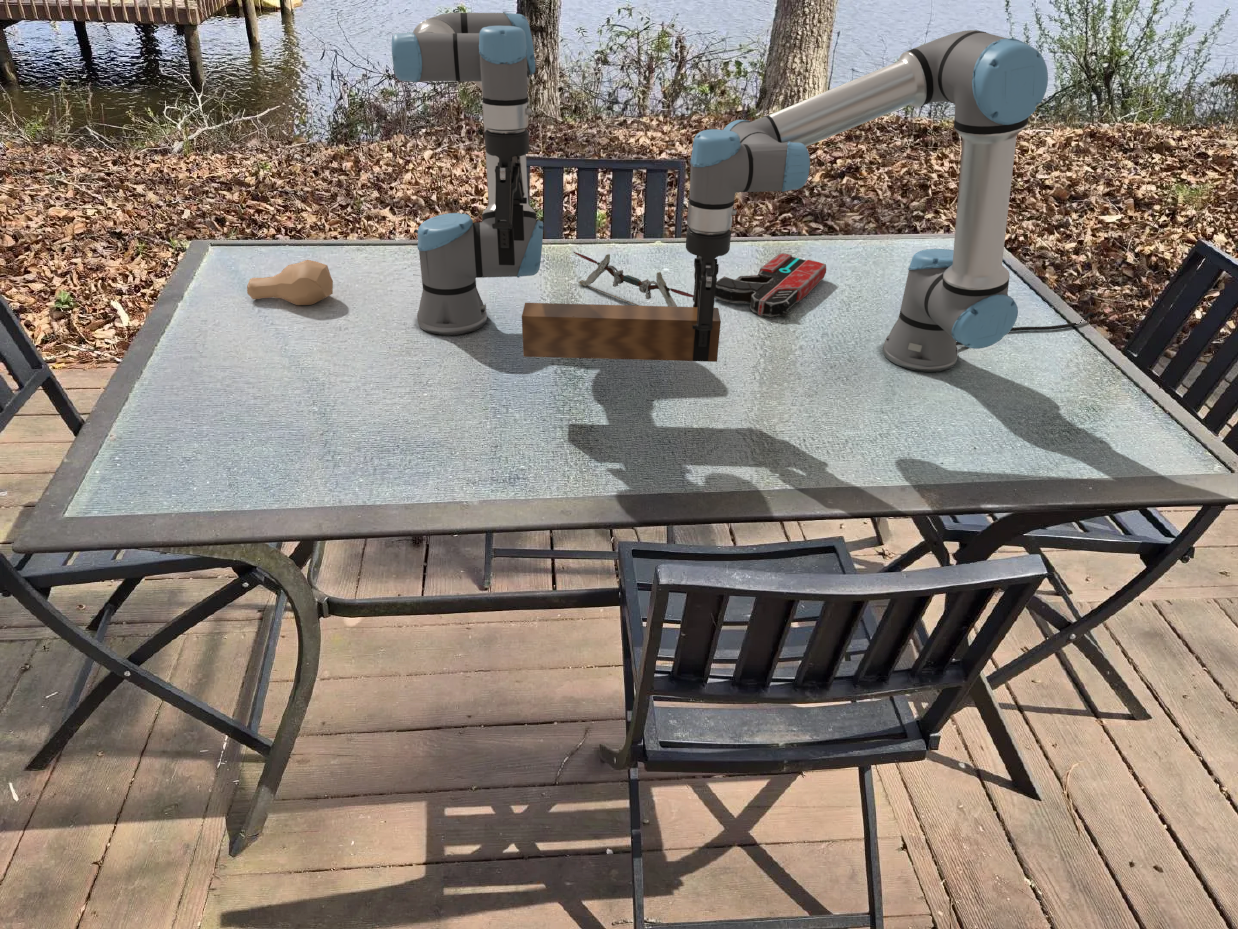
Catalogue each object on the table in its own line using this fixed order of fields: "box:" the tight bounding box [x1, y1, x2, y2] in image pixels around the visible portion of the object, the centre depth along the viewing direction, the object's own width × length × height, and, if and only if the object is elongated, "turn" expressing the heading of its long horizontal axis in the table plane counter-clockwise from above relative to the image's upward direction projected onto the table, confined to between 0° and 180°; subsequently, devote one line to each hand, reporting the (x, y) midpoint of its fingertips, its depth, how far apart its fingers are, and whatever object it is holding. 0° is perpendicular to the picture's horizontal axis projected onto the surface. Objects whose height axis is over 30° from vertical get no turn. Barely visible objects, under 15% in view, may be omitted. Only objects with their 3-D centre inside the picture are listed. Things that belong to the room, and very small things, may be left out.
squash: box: [246, 259, 334, 306], centre depth 203 cm, size 11×20×9 cm, turn 90°
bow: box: [573, 251, 694, 307], centre depth 205 cm, size 39×2×10 cm, turn 47°
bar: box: [521, 302, 722, 363], centre depth 159 cm, size 35×6×8 cm, turn 89°
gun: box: [714, 252, 827, 318], centre depth 215 cm, size 4×31×19 cm
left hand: (512, 251), depth 159 cm, fingers open, 13 cm apart
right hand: (699, 351), depth 161 cm, fingers closed on bar, 6 cm apart
